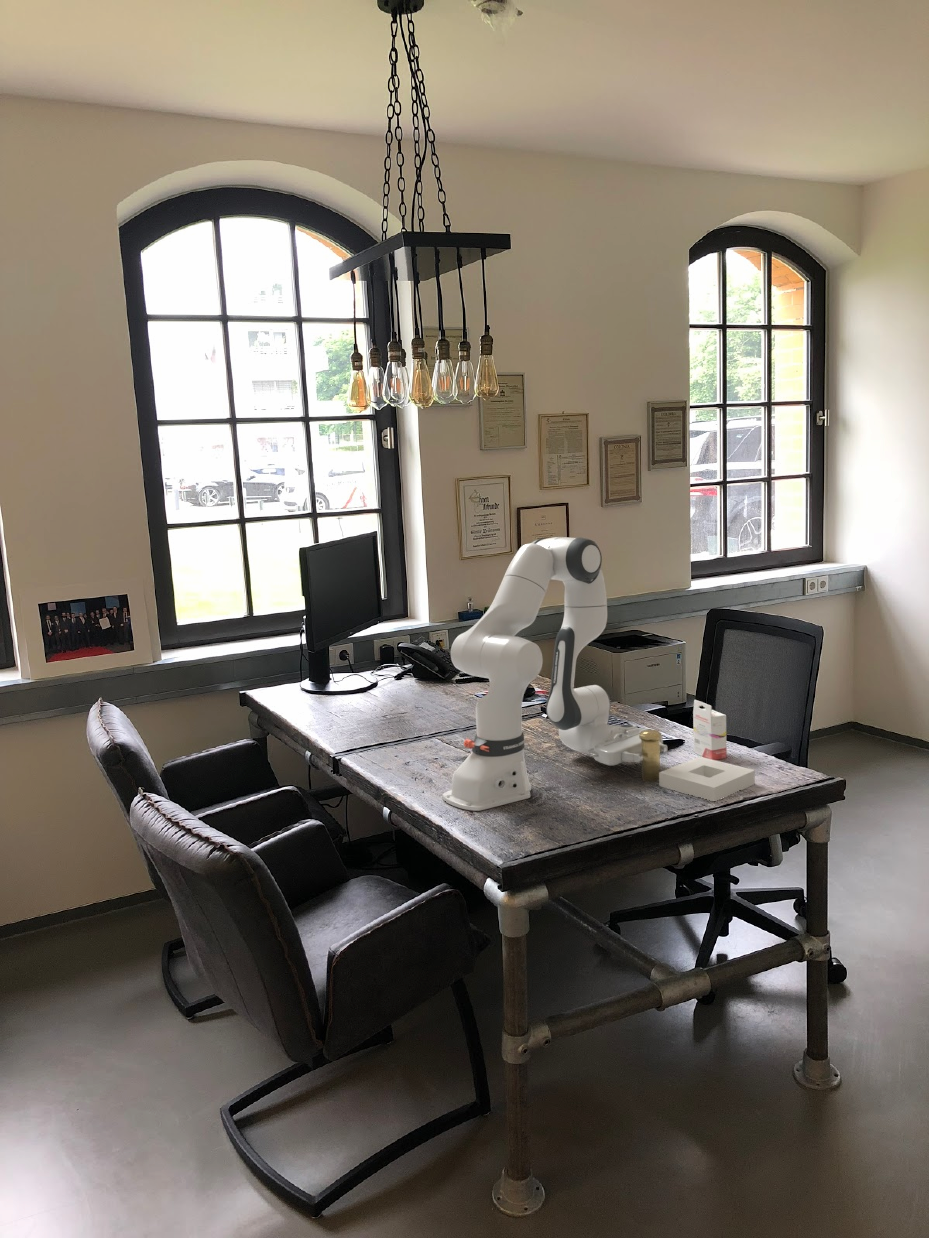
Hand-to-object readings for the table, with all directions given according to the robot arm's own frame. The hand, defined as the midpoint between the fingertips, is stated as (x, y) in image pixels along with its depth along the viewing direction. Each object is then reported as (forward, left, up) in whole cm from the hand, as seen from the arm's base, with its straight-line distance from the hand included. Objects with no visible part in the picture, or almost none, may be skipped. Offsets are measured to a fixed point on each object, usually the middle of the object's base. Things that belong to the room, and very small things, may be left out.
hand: (653, 753), depth 242 cm
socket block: (+5, -12, -7) cm, 15 cm away
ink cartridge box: (+24, +1, -7) cm, 25 cm away
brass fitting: (0, +1, -7) cm, 7 cm away
